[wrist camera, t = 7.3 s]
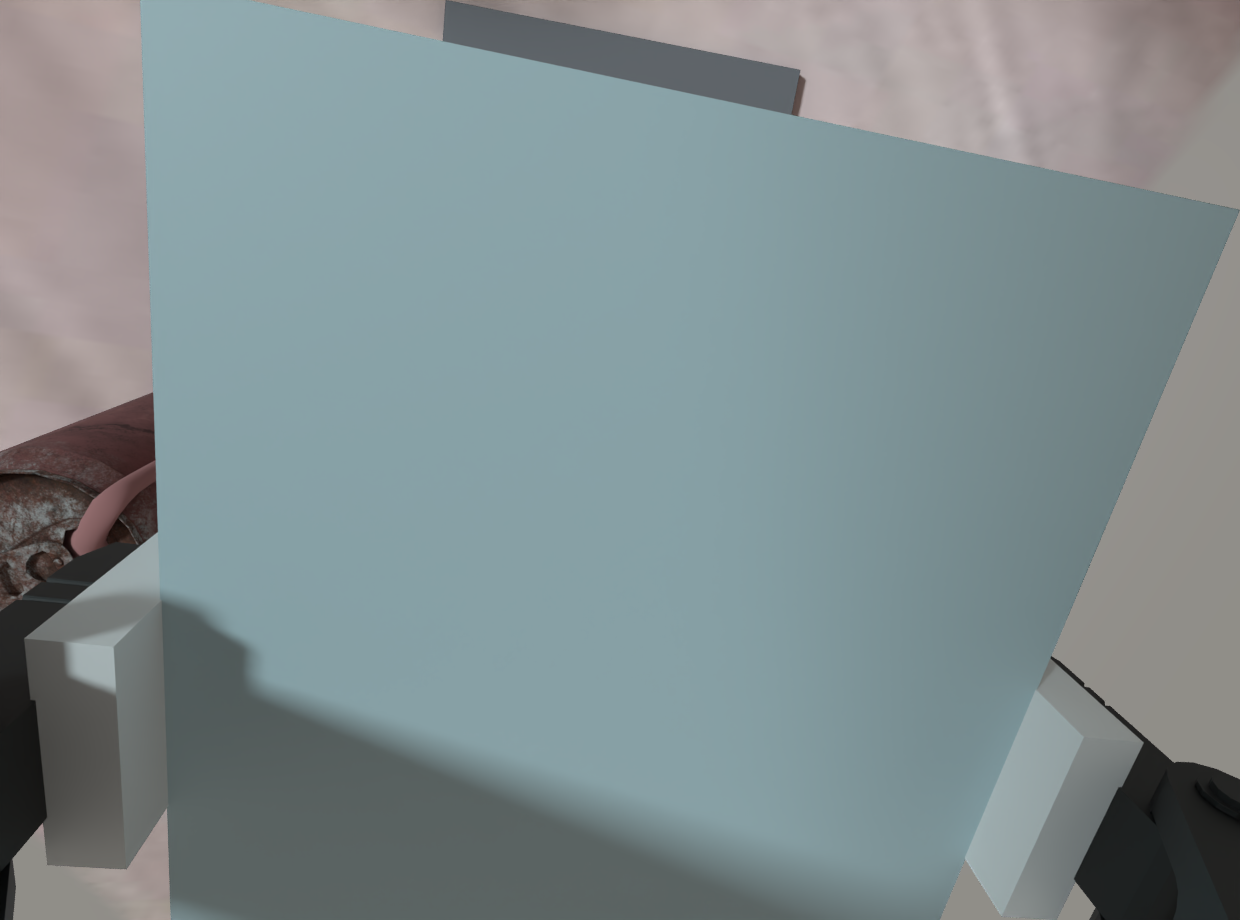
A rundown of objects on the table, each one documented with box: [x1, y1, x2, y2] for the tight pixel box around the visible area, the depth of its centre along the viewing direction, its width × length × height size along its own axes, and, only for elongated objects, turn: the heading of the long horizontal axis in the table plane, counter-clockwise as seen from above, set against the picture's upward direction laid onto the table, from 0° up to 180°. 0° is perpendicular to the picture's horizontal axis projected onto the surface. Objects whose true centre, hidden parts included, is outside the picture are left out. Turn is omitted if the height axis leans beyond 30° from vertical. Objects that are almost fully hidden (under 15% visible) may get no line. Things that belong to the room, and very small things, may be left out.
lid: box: [140, 0, 1239, 920], centre depth 11 cm, size 14×10×6 cm
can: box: [0, 393, 158, 611], centre depth 25 cm, size 6×6×14 cm
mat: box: [443, 0, 800, 115], centre depth 30 cm, size 14×14×1 cm
